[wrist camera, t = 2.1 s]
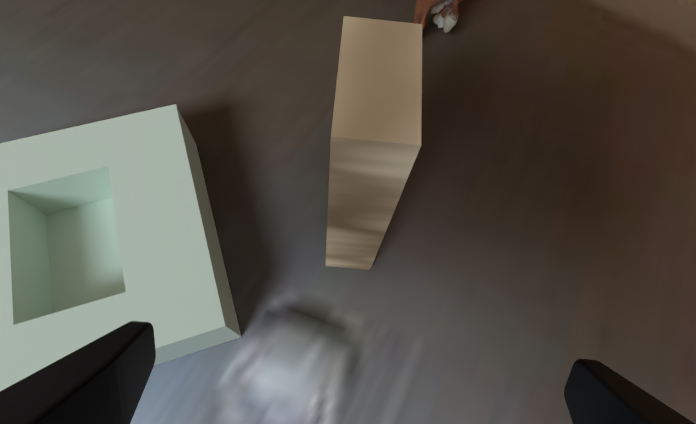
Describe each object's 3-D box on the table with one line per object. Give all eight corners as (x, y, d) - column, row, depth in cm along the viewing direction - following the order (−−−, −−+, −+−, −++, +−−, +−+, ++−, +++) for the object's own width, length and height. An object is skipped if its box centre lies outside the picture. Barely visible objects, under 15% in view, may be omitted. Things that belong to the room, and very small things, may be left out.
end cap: (196, 144, 26) (175, 104, 22) (241, 337, 22) (225, 326, 18) (-19, 196, 24) (-80, 161, 20) (-15, 420, 20) (-92, 427, 16)
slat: (374, 197, 25) (422, 24, 13) (370, 269, 24) (421, 145, 12) (332, 193, 25) (343, 15, 13) (325, 265, 24) (330, 136, 12)
